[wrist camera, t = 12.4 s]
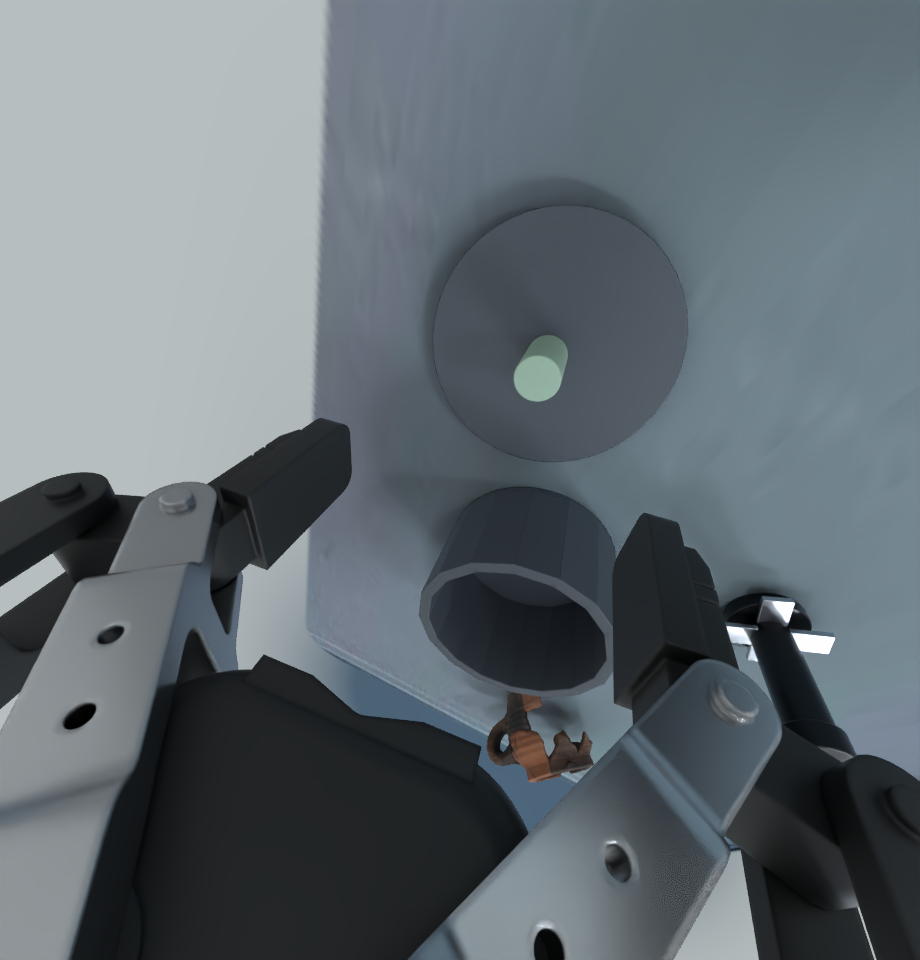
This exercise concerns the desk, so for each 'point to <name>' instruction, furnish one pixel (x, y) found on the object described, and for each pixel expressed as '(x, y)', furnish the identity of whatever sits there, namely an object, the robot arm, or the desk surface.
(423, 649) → the desk surface
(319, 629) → the desk surface
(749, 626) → the cylinder on cross base
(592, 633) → the gray oval box
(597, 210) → the lid
